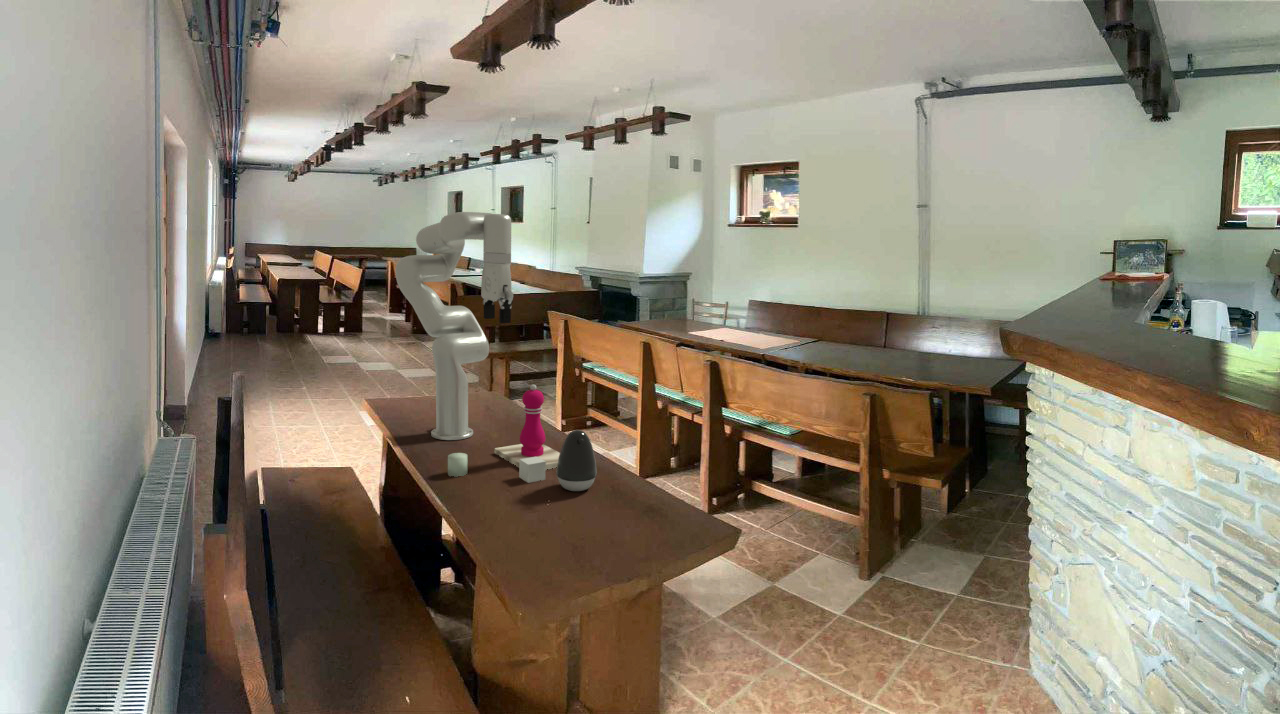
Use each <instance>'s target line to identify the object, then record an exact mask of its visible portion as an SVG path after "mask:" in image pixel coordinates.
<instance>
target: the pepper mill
mask: <svg viewBox="0 0 1280 714" xmlns="http://www.w3.org/2000/svg"><path fill="white" fill-rule="evenodd" d="M529 386H530V387H529V389H528V390H526V391H525V392H524V393H523V394H522V399H521V400H522V403H523V405H524V407H523V409H524V410H523V412H524V413H525V419H524V420H525V421H524V424H523V427H522V429H521V431H520V434H519V443H520V444H522V445H523V446H522V447H521V454H522V455H524V456H528V457H536V456H541V455H543V453H544V448H543V446H542V445H543V444H544V445H545V442H546V433H545V430H544V428H543V425H542V423H541V413H542V412H543V410H542V409H543V407H542V405H543V404H544V402H545V397H544V394H543V392H542V391H541V390H538V389H537V385H536V384H531V385H529Z"/></svg>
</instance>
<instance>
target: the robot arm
mask: <svg viewBox="0 0 1280 714" xmlns="http://www.w3.org/2000/svg"><path fill="white" fill-rule="evenodd" d="M467 240H475V241H476V240H480V241H483V250H482V251H483V257H482V258H483V263H482V265H483V266H482V272H481V273H482V274H481V283H480V284H481V285H480V286H481V288H480V290H481V291H480V293H481V294H480V295H481V298H482V300H483V301H482V305H483V319H484V320H491V319H495V317H496V315H495V313H496V310H495V309H496V305H495V304H494V303H495V302H497V301H498V304H499V307H500V308H499V309H498V311H499V312H498V313H499V314H498V318H499V320H498V322H499V323H500V324H510V323H511V320H512V319H511V318H512V312H511V311H512V307H513V306H512V305H513V300H514V293H513V292H512V273H511V265H512V218H511V216H510V215H508V214H503V213H491V212H490V213H489V212H475V211H474V212H473V211H457V212H454V213H450V214H446V215H444V216H443V217H442V218H441V220H440V222H437V223H434V224H433V223H432V224H430V225H427V226H425V227H423V228H421V229H420V230H419V231H418V232H417V234H416V237H415V242H416V245H417V247H418V248H419V250H421V251H423V252H424V253H426V254H415V255H413V254H411V255H406V256H404V257H402V258H400V259H399V260H398V261H397V262H396V265H395V278H396V283H397V286H398V288H399V290H400V292H401V294H403V296H404V297H405V299H406V300H407V301H408V302H409V304H410V305H411V306H412V308H413V310H414V312H415V314H416V315H417V318H418V320H419V321H420V323H421V325H422V327H423V329H424V330H425V332H426V334H427V335H428V336H430V337H432V338H435V339H434V340H433V342H432V344H431V352H432V357H433V358H432V359H433V362H434V364H433V365H434V370H435V406H436V407H435V413H436V415H435V417H436V419H435V420H436V421H435V423H436V426H435V427H436V428H433V429H432V430H431V431H430V433H431V434H430V435H431V437H432V438H433V439H436V440H442V441H458V440H464V439H469V438H470V437H472V436H473V435H474V430H473V429H472V428H471V427H469V380H468V379H469V378H468V376H467V373H466V372H465V370H464V369H463V367H462V365H465V364H471V363H479V362H482V361H484V360H485V359H487V358H488V356H489V353H490V344H489V340H488V338H487V336H486V335H485V332H484V331H483V329H482V327H481V325H480V324H479V322H478V320H477V318H476V316H475V315H474V313H473V311H471V309H469V308H468V307H466V306H464V305H445V304H444V303H443V301H442V300H441V298H440V296H439V294H438V293H437V292H436V291H435V290H434V289H432V288H431V287H430V286H428V285H427V284H426V283H438V282H440V283H441V282H442V283H443V282H447V281H448V280H450V279H451V278H452V276H453V274H454V272H455V270H456V267H457V265H458V264H459V262H460V259H461V256H462V254H463V251H464V248H465V245H466V244H465V243H466V241H467Z"/></svg>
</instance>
